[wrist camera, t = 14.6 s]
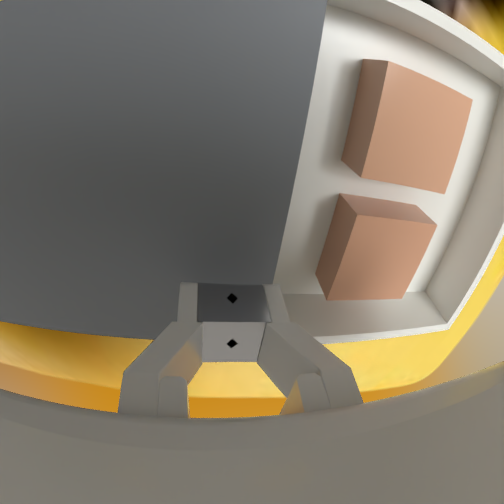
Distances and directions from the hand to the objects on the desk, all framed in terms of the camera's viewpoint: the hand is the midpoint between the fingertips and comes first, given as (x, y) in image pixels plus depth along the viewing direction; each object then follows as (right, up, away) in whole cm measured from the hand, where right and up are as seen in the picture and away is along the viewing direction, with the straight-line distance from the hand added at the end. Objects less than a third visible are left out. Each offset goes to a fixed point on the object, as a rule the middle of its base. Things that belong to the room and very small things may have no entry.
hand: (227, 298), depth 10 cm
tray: (+8, +5, +4) cm, 10 cm away
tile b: (+7, +1, +4) cm, 8 cm away
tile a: (+7, +6, 0) cm, 9 cm away
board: (-5, +6, +2) cm, 8 cm away
